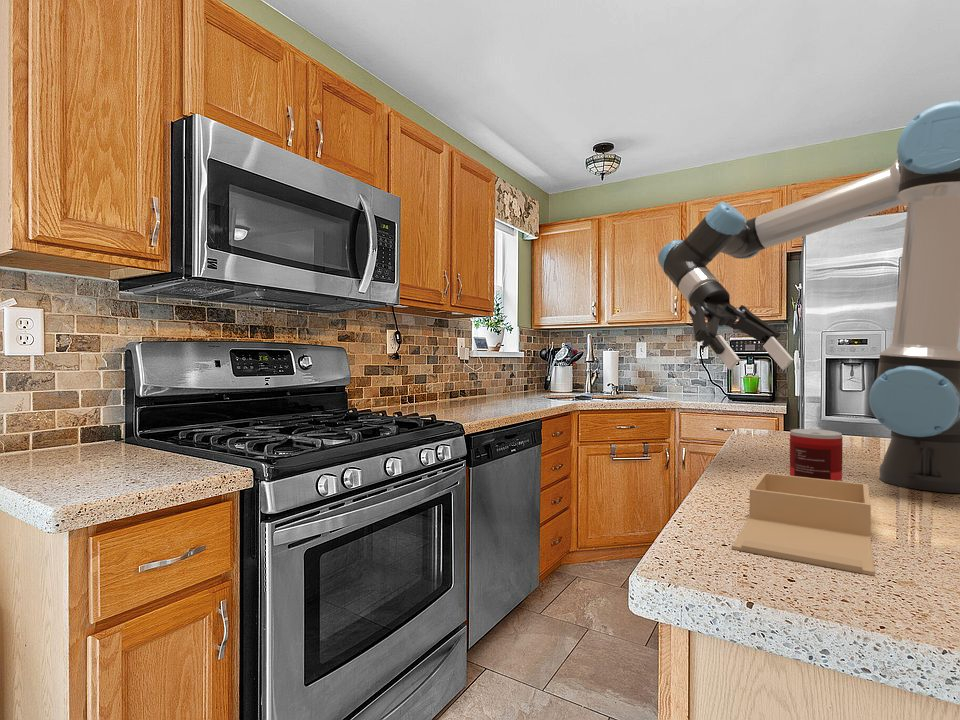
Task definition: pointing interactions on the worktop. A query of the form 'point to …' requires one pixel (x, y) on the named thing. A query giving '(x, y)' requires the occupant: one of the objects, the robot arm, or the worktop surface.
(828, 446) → the canned food
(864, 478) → the worktop surface
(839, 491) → the mailer box
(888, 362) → the robot arm
